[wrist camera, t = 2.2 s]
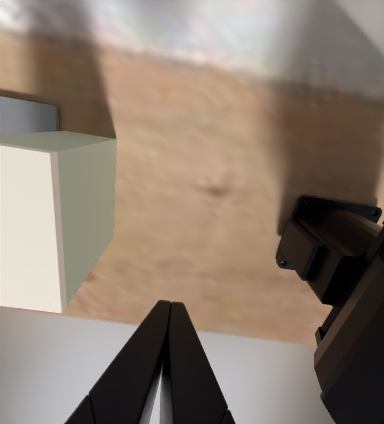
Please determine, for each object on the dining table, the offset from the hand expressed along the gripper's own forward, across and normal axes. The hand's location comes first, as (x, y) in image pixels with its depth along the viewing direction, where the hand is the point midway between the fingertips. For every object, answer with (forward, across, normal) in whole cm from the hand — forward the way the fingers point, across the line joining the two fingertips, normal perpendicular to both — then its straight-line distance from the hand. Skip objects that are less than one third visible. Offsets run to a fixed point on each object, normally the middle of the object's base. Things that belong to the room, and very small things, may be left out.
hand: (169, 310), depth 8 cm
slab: (+11, +7, 0) cm, 13 cm away
